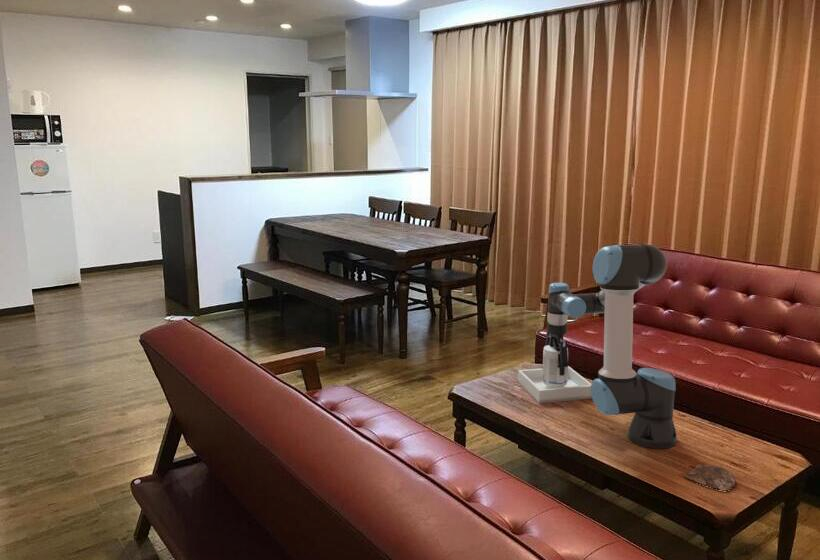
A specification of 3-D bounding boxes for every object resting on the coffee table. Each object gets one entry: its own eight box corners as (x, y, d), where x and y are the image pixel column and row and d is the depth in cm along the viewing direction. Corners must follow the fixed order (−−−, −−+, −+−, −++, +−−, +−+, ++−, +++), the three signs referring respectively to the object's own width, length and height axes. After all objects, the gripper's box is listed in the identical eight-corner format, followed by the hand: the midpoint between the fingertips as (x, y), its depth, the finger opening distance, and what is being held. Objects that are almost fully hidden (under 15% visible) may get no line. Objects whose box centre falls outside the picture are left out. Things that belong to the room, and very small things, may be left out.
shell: (699, 465, 199) (700, 454, 199) (742, 481, 190) (743, 470, 190) (681, 479, 192) (682, 467, 191) (726, 496, 183) (727, 484, 182)
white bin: (593, 398, 249) (594, 385, 248) (539, 403, 245) (539, 390, 244) (568, 377, 270) (568, 366, 269) (517, 381, 266) (518, 370, 265)
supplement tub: (571, 383, 257) (573, 348, 253) (558, 390, 250) (559, 353, 247) (551, 377, 264) (552, 342, 260) (537, 383, 257) (538, 347, 254)
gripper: (579, 330, 242) (576, 387, 246) (554, 314, 263) (552, 367, 268) (560, 331, 240) (557, 389, 245) (536, 315, 261) (534, 368, 266)
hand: (554, 377), depth 256 cm, fingers closed on supplement tub, 9 cm apart
